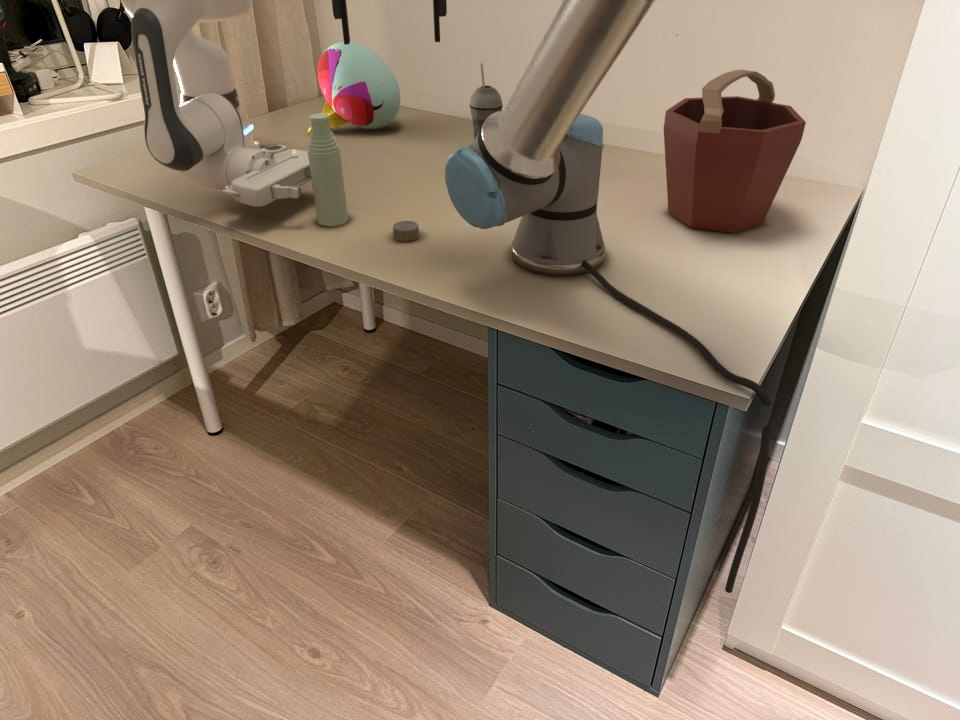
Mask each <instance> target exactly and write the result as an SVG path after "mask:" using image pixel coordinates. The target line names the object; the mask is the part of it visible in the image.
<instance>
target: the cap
mask: <svg viewBox="0 0 960 720" xmlns="http://www.w3.org/2000/svg"><path fill="white" fill-rule="evenodd" d="M392 229H393V231H392V232H393V239H394V240H395V241H398V242H403V243H408V242H414V241H416V240H417V239H419V237H420V230H419V224H418V223H417V222H416V221H413V220H401V221H397V222H395V223H394V224H393V225H392Z"/></svg>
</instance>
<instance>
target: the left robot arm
mask: <svg viewBox="0 0 960 720" xmlns="http://www.w3.org/2000/svg"><path fill="white" fill-rule="evenodd" d="M120 3H121V4H122V5H121V6H122V7H123V9H124V10H125V11H126V12H127V14H128V15H129V16H130V17H131V21H130V35H131V42H132V50H133V55H134V62H135V67H136V73H137V78H138V85H139V90H140V96H141V101H142V106H143V116H144V117H143V118H144V119H143V120H144V126H143V128H144V131H143V132H144V141H145V145H146V147H147V150H148V152H149V153H150V155H151V156H152V158H153V159H154V160H155V161H157V162H158V163H159V164H160V165H162V166H164V167H166V168H169V169H171V170H174V171H179V172H181V173H182V176H184V177H185V178H186V179H187V180H189V181H190V182H192V183H194V185H197V186H199V187H202V188H205V189H209V190H213V191H218V192H222V194H223V195H224V196H227V197H233V198H234V200H235V201H236V202H238V203H241V204H244V205H247V206H250V207H254V208H261V207H265V206H267V205H269V204H271V203H272V202H274V201H276V200H282V199H289V198H290V199H291V198H292V199H299V198H300V197H302V196H303V188H302V186H304V185H306V184H307V183H309V182H312V178H311V172H310V165H309V158H308V151H307V150H303V149H295V148H294V149H293V148H291V149H288V146H287V145H283V144H277V145H273V146H266V147H261V143H260V142H259V141H256V140H255V139H254V136H253V132H252V131H253V130H254V124H250V120H249V116H248V114H247V113H246V111H244V110H243V109H242V108H240V101H239V94H238V90H237V88H235V86H234V81H233V76H232V71H231V65H230V61H229V56H228V54H227V52H226V51H225V50H224V48H223V47H221V45H219V44H218V43H215V42H213V41H211V40H208V39H206V38H204V37H201V36H199V35H198V34H197V33H196V32H195V31H194V30H193V27H194V26H196V25H197V24H198V23H215V22H227V21H231V20H235V19H239V18H242V17H246V16H247V15H248V13H250V10H251V8H252V6H253V0H120ZM175 72H176V74H175ZM176 76H177V78H178V83H179V87H180V91H181V93H180V100H179V94H178V87H177V81H176Z"/></svg>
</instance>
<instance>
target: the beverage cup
mask: <svg viewBox="0 0 960 720" xmlns="http://www.w3.org/2000/svg"><path fill="white" fill-rule="evenodd" d="M480 77H481V86H478V87H477V88H476V89H475V90H474V91H473V92H472V95H471V97H470V100H469V104H468V105H469V108H470V109H469V111H470V115H471V117H472V118H471V120H472V128H473V129H472V131H473V141H474V140H475V139H476V137H477V135H478V133H479V131H480V129H481V127H482V125H483V123H484V122H485V120H486V119H487V118H488V117H489V116H490V115H491V114H493V113H495V112H498V111H503V107H504V105H503V99H502V96H501V94H500V92H499V91H498V90H497V89H496V88H495V87H493V86H491V85H486V83H485V73H484V63H482V62H481V63H480Z"/></svg>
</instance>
